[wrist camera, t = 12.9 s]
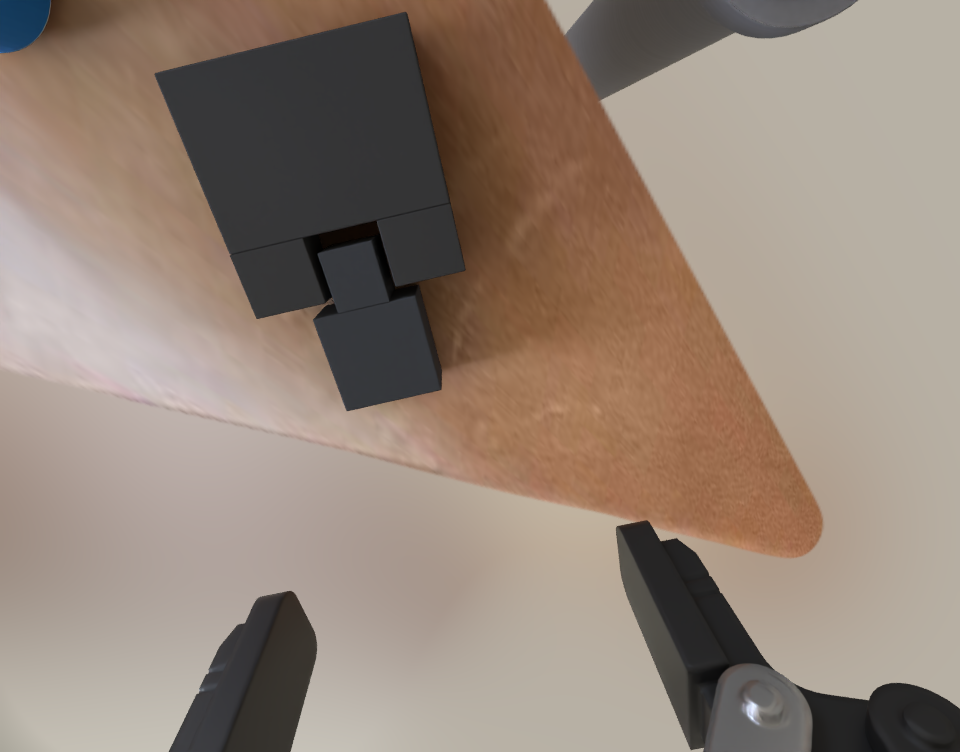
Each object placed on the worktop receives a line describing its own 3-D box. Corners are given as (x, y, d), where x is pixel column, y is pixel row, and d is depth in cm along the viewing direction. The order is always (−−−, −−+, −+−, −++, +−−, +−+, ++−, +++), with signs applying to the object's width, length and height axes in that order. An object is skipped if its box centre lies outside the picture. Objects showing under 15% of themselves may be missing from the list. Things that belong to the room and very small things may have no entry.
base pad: (187, 85, 25) (152, 73, 22) (411, 31, 24) (406, 10, 21) (275, 305, 29) (256, 319, 26) (463, 261, 29) (465, 270, 26)
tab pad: (305, 251, 28) (289, 259, 25) (403, 228, 28) (398, 234, 25) (355, 390, 32) (346, 411, 29) (442, 370, 32) (441, 390, 29)
